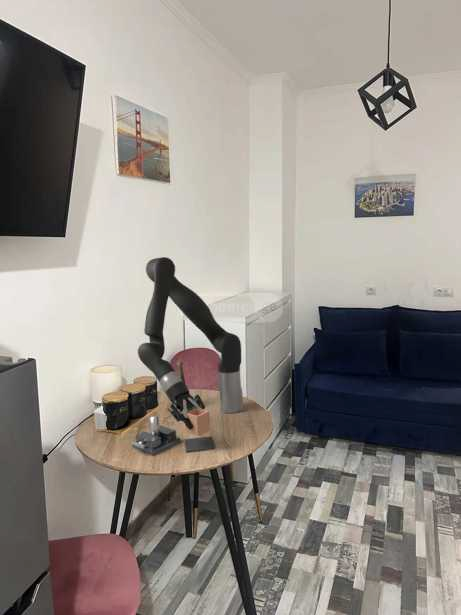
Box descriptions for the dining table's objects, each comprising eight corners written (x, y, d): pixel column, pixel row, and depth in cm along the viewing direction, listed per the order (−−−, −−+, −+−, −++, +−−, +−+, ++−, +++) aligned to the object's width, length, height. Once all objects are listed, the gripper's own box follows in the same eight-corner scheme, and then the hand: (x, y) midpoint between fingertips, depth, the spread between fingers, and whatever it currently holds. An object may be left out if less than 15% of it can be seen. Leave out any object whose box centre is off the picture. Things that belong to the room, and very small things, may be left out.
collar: (197, 426, 165) (196, 407, 164) (210, 430, 161) (209, 411, 160) (185, 432, 160) (184, 413, 159) (198, 436, 156) (196, 416, 155)
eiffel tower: (182, 403, 206) (178, 349, 202) (200, 406, 199) (196, 351, 196) (166, 410, 197) (161, 354, 194) (184, 414, 191) (179, 356, 188)
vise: (160, 434, 172) (158, 408, 170) (180, 441, 164) (178, 414, 163) (128, 449, 161) (125, 421, 159) (148, 457, 153) (145, 428, 152)
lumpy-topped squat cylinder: (92, 428, 183) (89, 407, 181) (116, 416, 193) (114, 397, 192) (110, 432, 177) (108, 411, 176) (134, 420, 188) (132, 400, 186)
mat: (211, 437, 167) (211, 436, 167) (215, 449, 157) (215, 447, 157) (184, 440, 165) (184, 439, 165) (186, 452, 155) (186, 451, 155)
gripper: (163, 386, 158) (189, 426, 152) (192, 376, 169) (218, 413, 163) (154, 398, 162) (179, 437, 156) (183, 387, 173) (208, 424, 167)
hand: (198, 424), depth 159 cm, fingers closed on collar, 6 cm apart
